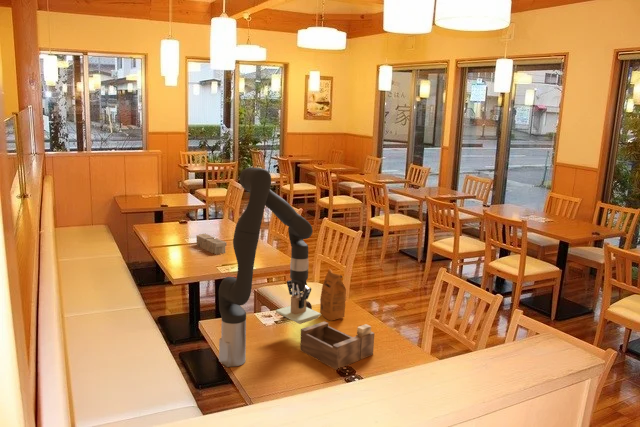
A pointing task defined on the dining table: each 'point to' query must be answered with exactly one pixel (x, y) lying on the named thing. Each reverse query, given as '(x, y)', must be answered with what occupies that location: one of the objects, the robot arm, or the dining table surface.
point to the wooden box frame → (335, 345)
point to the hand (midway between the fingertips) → (298, 306)
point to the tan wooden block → (363, 330)
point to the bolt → (307, 305)
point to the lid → (298, 311)
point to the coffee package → (333, 297)
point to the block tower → (211, 243)
